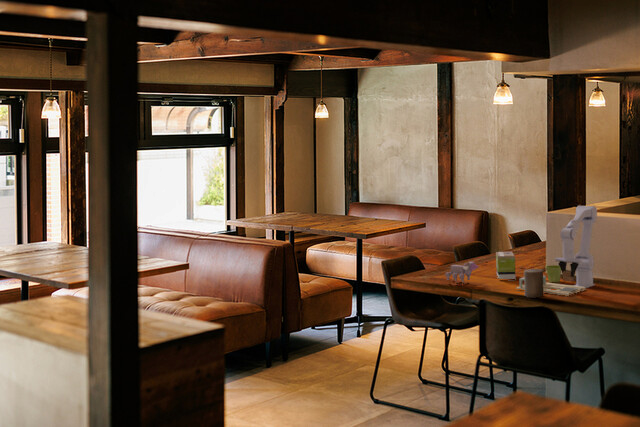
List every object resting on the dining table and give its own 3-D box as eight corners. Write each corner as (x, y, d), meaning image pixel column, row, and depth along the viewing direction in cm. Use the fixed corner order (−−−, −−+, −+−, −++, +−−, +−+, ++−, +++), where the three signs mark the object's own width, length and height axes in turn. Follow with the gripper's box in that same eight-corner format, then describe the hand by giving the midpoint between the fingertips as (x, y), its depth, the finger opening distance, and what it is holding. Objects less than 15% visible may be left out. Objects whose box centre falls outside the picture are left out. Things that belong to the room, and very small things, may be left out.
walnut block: (566, 279, 425) (566, 269, 424) (574, 280, 422) (574, 270, 421) (563, 280, 422) (562, 271, 421) (570, 281, 419) (570, 272, 418)
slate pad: (565, 287, 427) (565, 287, 427) (578, 289, 422) (578, 288, 422) (559, 290, 422) (559, 289, 422) (571, 291, 417) (571, 291, 417)
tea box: (496, 275, 476) (495, 251, 474) (513, 275, 475) (512, 251, 473) (498, 280, 461) (497, 255, 460) (516, 280, 460) (515, 255, 458)
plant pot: (556, 284, 445) (556, 268, 444) (542, 282, 452) (542, 267, 452) (566, 281, 452) (565, 266, 451) (551, 279, 459) (551, 264, 458)
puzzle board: (534, 283, 448) (534, 281, 448) (585, 289, 428) (585, 287, 427) (516, 290, 434) (516, 287, 434) (567, 296, 413) (567, 293, 413)
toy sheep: (484, 284, 452) (483, 261, 450) (474, 288, 445) (473, 265, 443) (454, 281, 466) (452, 258, 464) (444, 285, 458) (442, 262, 456)
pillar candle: (547, 296, 415) (546, 268, 413) (530, 298, 412) (530, 270, 410) (537, 293, 424) (536, 265, 422) (520, 295, 421) (520, 267, 420)
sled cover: (532, 282, 444) (532, 272, 443) (546, 284, 438) (545, 274, 438) (519, 287, 433) (519, 276, 433) (532, 288, 428) (532, 278, 427)
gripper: (552, 250, 422) (552, 275, 424) (577, 252, 412) (578, 278, 414) (558, 248, 427) (558, 273, 429) (584, 250, 417) (584, 276, 419)
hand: (568, 276), depth 422 cm, fingers closed on walnut block, 4 cm apart
